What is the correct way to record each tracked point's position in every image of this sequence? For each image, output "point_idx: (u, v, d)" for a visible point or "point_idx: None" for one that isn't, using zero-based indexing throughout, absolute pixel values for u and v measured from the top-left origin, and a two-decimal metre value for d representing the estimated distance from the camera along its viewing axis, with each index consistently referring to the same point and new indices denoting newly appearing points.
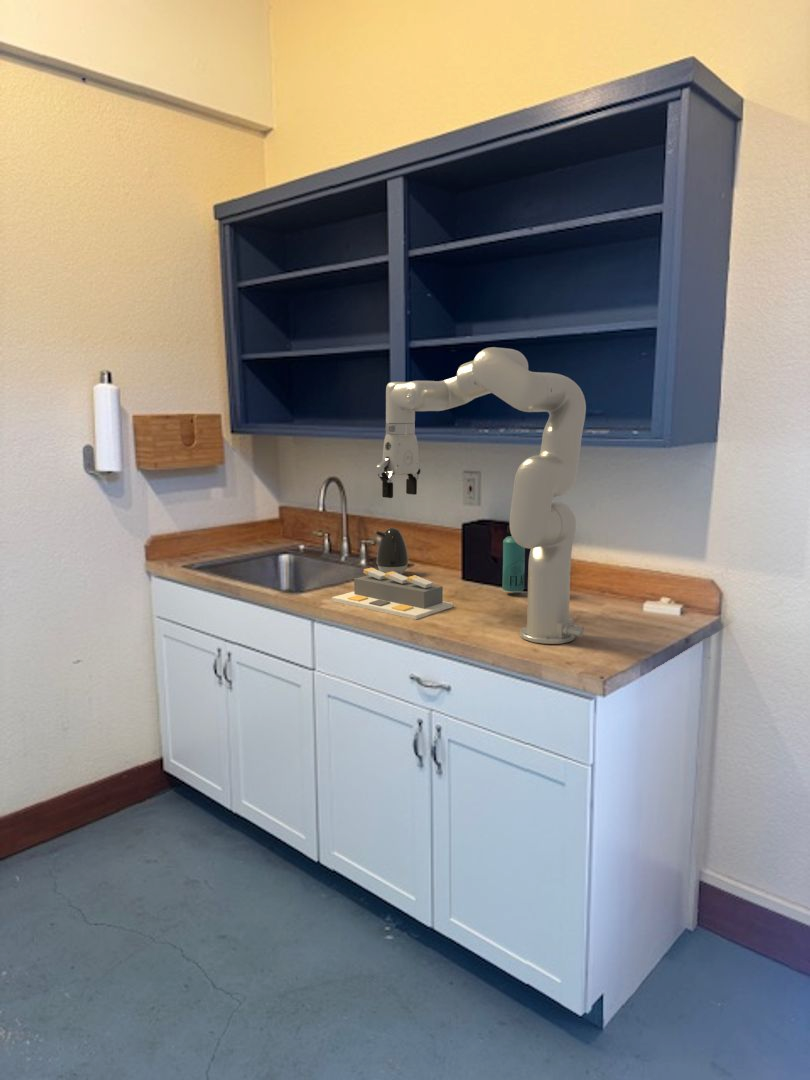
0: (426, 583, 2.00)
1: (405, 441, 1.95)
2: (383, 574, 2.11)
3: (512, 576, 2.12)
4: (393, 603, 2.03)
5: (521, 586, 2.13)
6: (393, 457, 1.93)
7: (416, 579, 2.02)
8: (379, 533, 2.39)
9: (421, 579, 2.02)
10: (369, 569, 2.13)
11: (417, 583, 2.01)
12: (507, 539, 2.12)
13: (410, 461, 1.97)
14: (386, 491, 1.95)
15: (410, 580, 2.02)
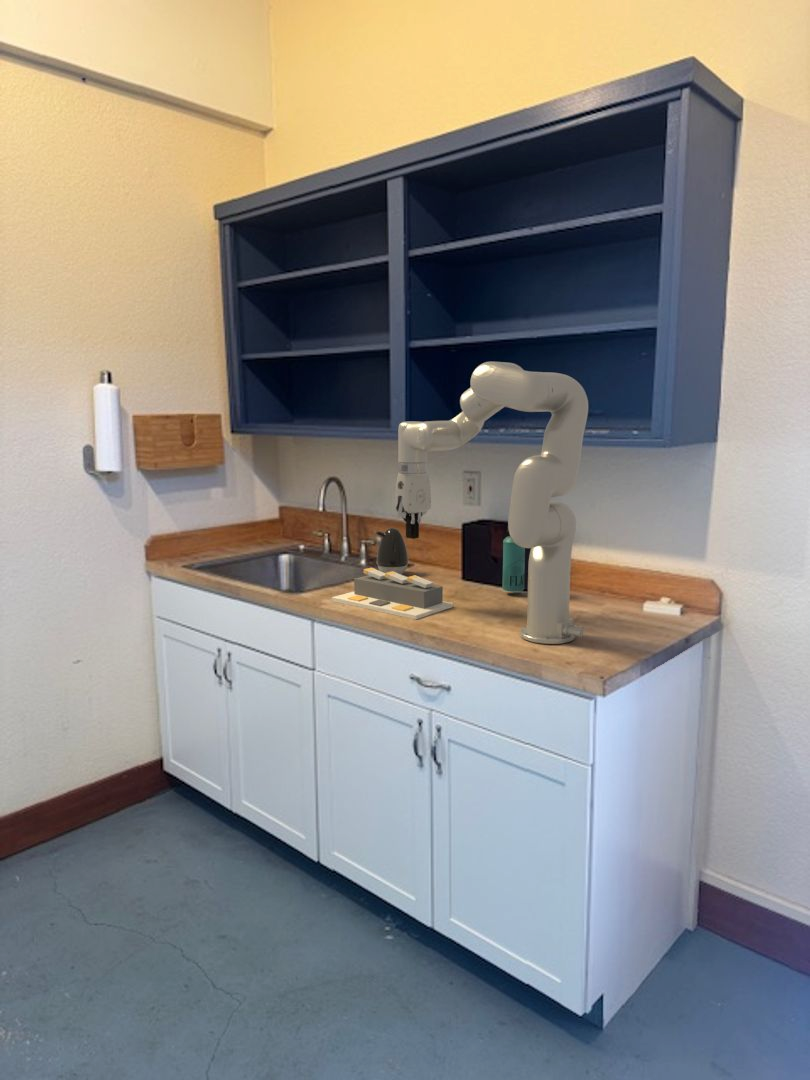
0: (426, 583, 2.00)
1: (418, 480, 1.96)
2: (383, 574, 2.11)
3: (512, 576, 2.12)
4: (393, 603, 2.03)
5: (521, 586, 2.13)
6: (406, 496, 1.95)
7: (416, 579, 2.02)
8: (379, 533, 2.39)
9: (421, 579, 2.02)
10: (369, 569, 2.13)
11: (417, 583, 2.01)
12: (507, 539, 2.12)
13: (422, 499, 1.99)
14: (410, 532, 2.00)
15: (410, 580, 2.02)
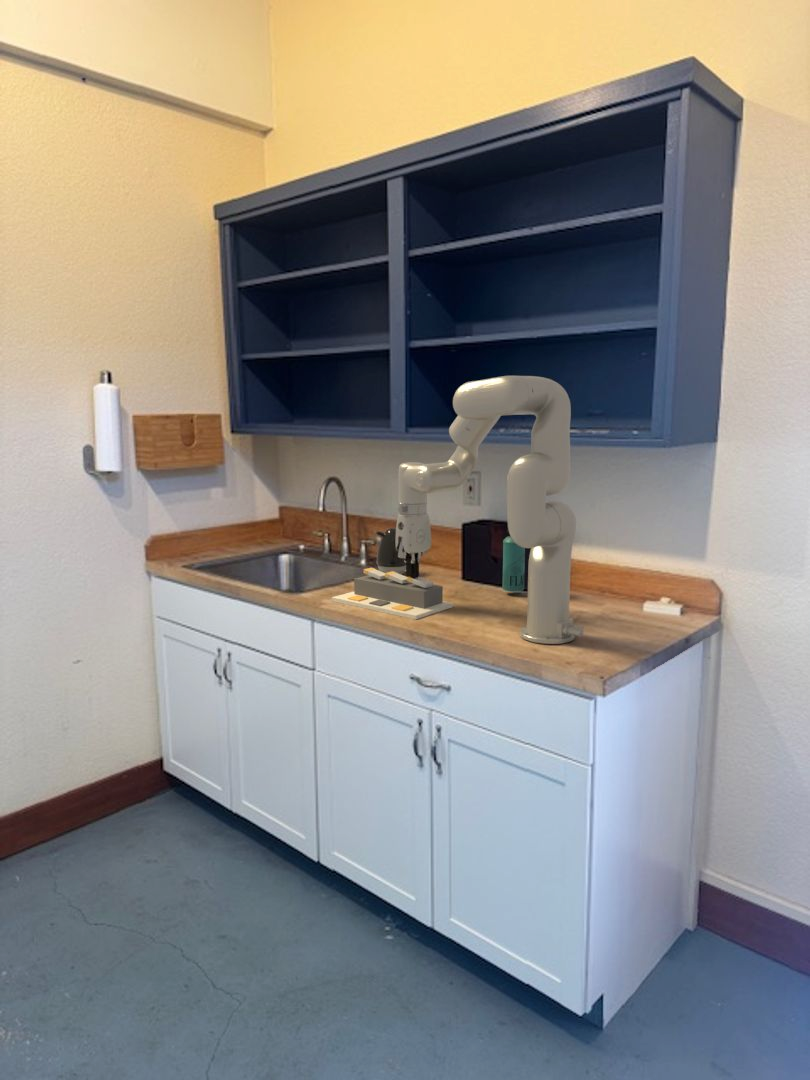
0: (426, 583, 2.00)
1: (418, 521, 1.98)
2: (383, 574, 2.11)
3: (512, 576, 2.12)
4: (393, 603, 2.03)
5: (521, 586, 2.13)
6: (406, 537, 1.97)
7: (416, 579, 2.02)
8: (379, 533, 2.39)
9: (421, 579, 2.02)
10: (369, 569, 2.13)
11: (417, 583, 2.01)
12: (507, 539, 2.12)
13: (422, 539, 2.01)
14: (410, 572, 2.02)
15: (410, 580, 2.02)
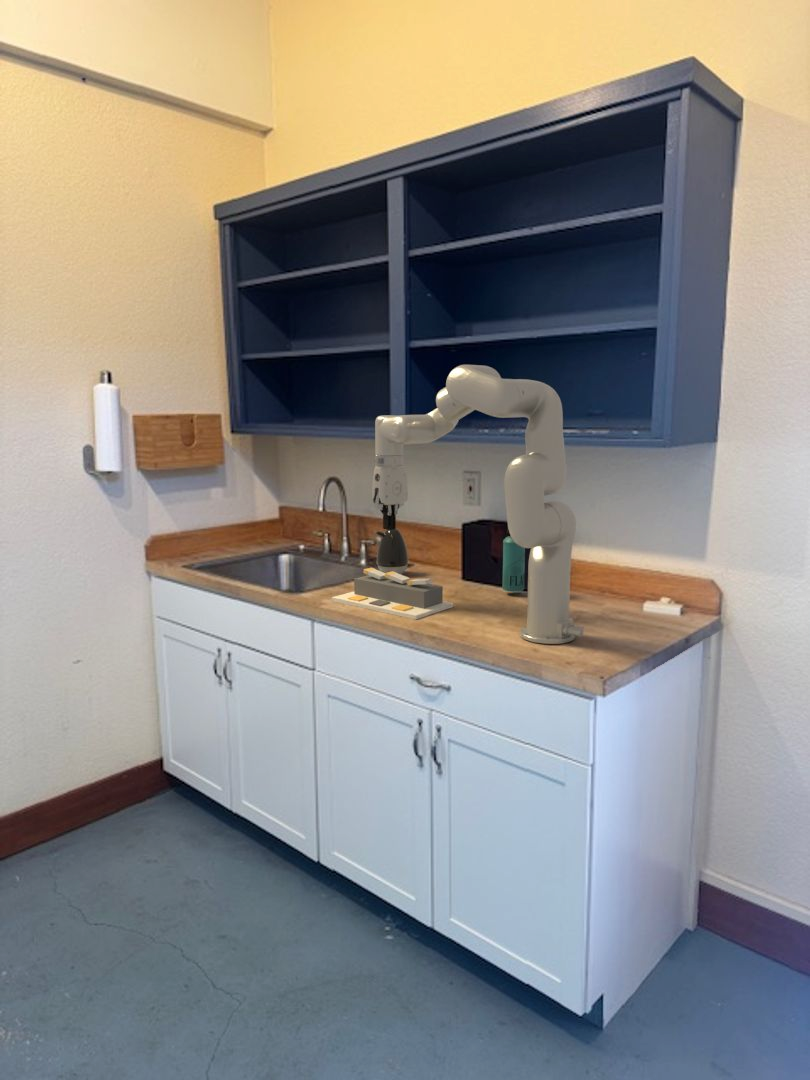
0: (425, 579, 2.00)
1: (394, 473, 2.01)
2: (383, 574, 2.11)
3: (512, 576, 2.12)
4: (393, 603, 2.03)
5: (521, 586, 2.13)
6: (382, 488, 2.00)
7: (415, 580, 2.02)
8: (379, 533, 2.39)
9: (420, 579, 2.02)
10: (369, 569, 2.13)
11: (417, 582, 2.01)
12: (507, 539, 2.12)
13: (399, 491, 2.04)
14: (386, 523, 2.05)
15: (410, 583, 2.02)
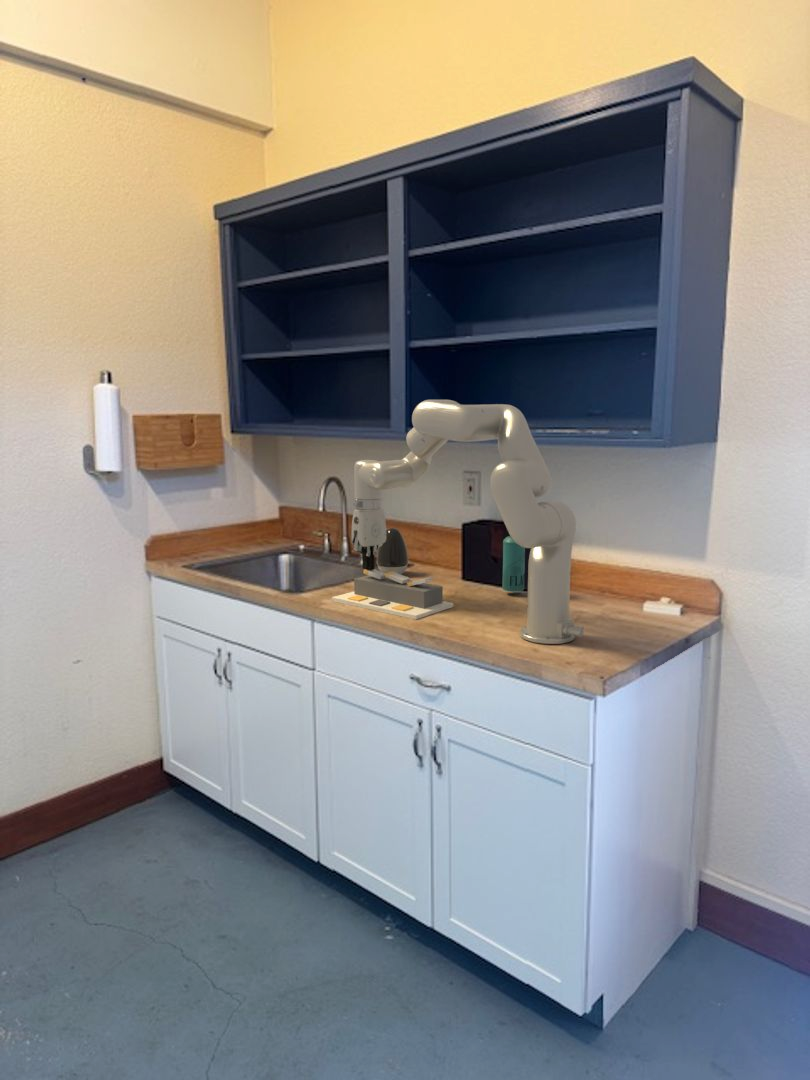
0: (425, 578, 2.00)
1: (373, 516, 2.08)
2: (383, 574, 2.11)
3: (512, 576, 2.12)
4: (393, 603, 2.03)
5: (521, 586, 2.13)
6: (361, 531, 2.07)
7: (415, 580, 2.02)
8: None
9: (420, 579, 2.02)
10: None
11: (417, 582, 2.01)
12: (507, 539, 2.12)
13: (377, 533, 2.11)
14: (366, 564, 2.12)
15: (410, 584, 2.02)
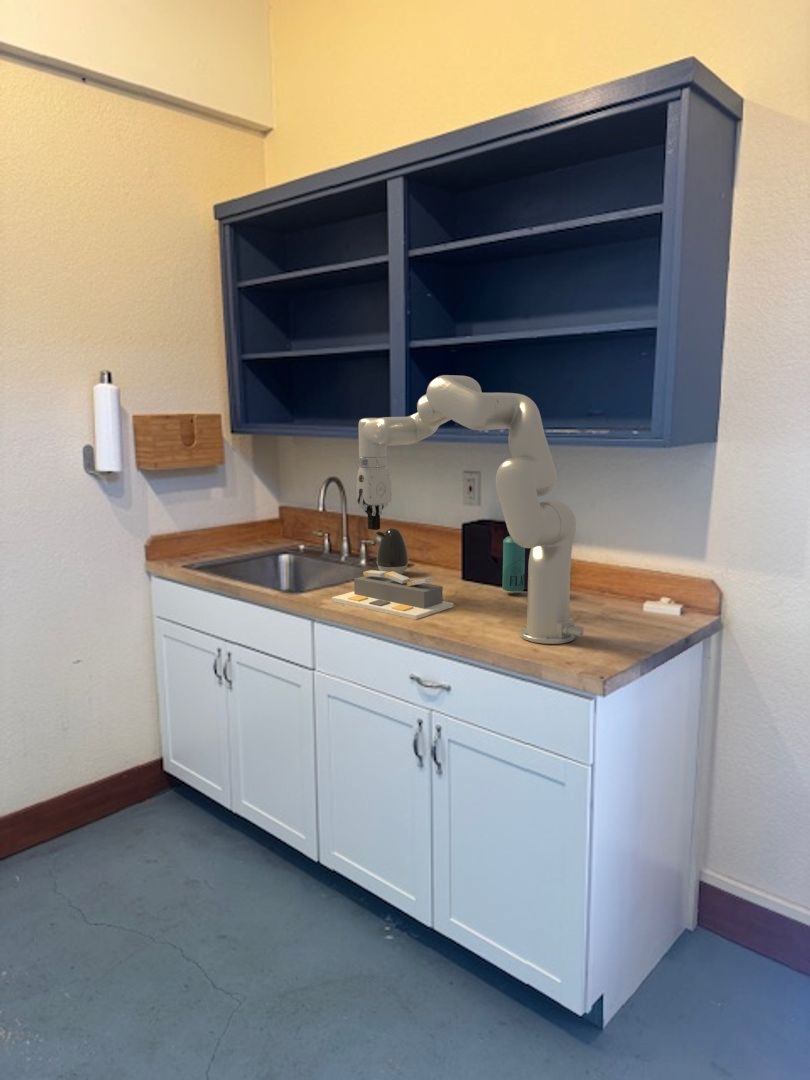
0: (425, 578, 2.00)
1: (378, 474, 2.06)
2: (383, 572, 2.11)
3: (512, 576, 2.12)
4: (393, 603, 2.03)
5: (521, 586, 2.13)
6: (366, 489, 2.04)
7: (415, 580, 2.02)
8: (379, 533, 2.39)
9: (420, 579, 2.02)
10: (369, 571, 2.13)
11: (417, 582, 2.01)
12: (507, 539, 2.12)
13: (383, 492, 2.08)
14: (371, 524, 2.10)
15: (410, 583, 2.02)
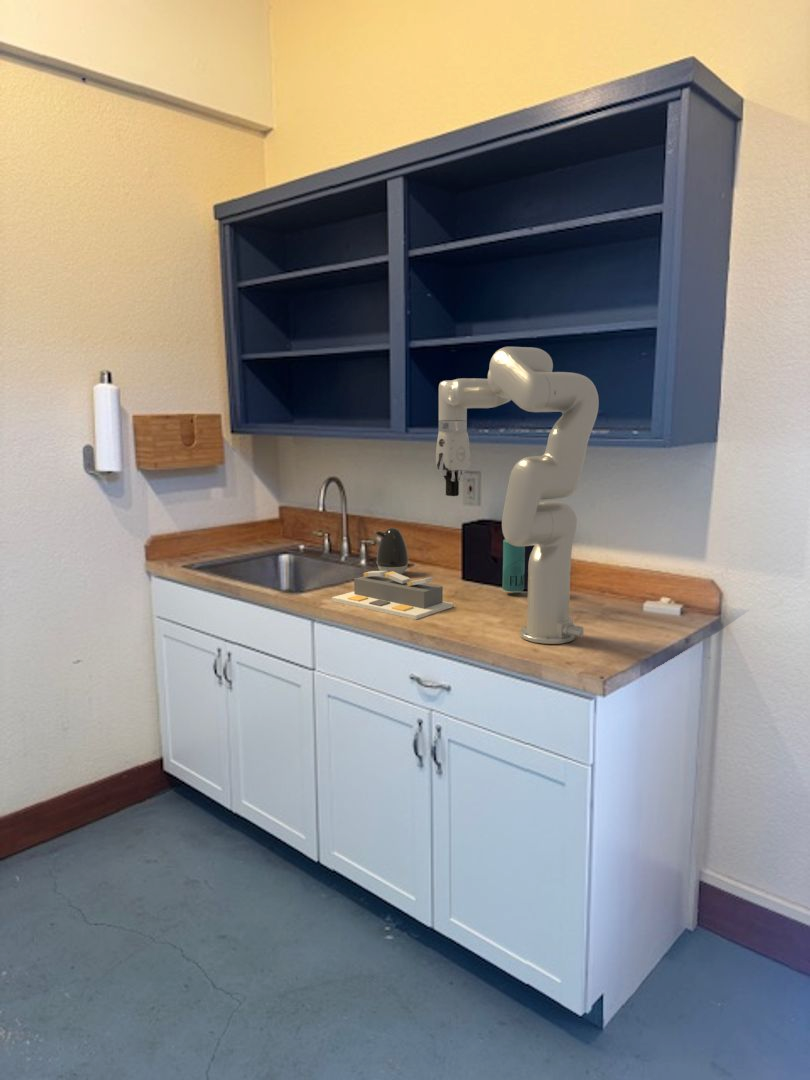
0: (425, 578, 2.00)
1: (458, 438, 2.00)
2: (383, 571, 2.11)
3: (512, 576, 2.12)
4: (393, 603, 2.03)
5: (521, 586, 2.13)
6: (447, 453, 1.99)
7: (415, 580, 2.02)
8: (379, 533, 2.39)
9: (420, 579, 2.02)
10: (369, 572, 2.13)
11: (417, 582, 2.01)
12: None
13: (462, 457, 2.03)
14: (450, 490, 2.04)
15: (410, 583, 2.02)
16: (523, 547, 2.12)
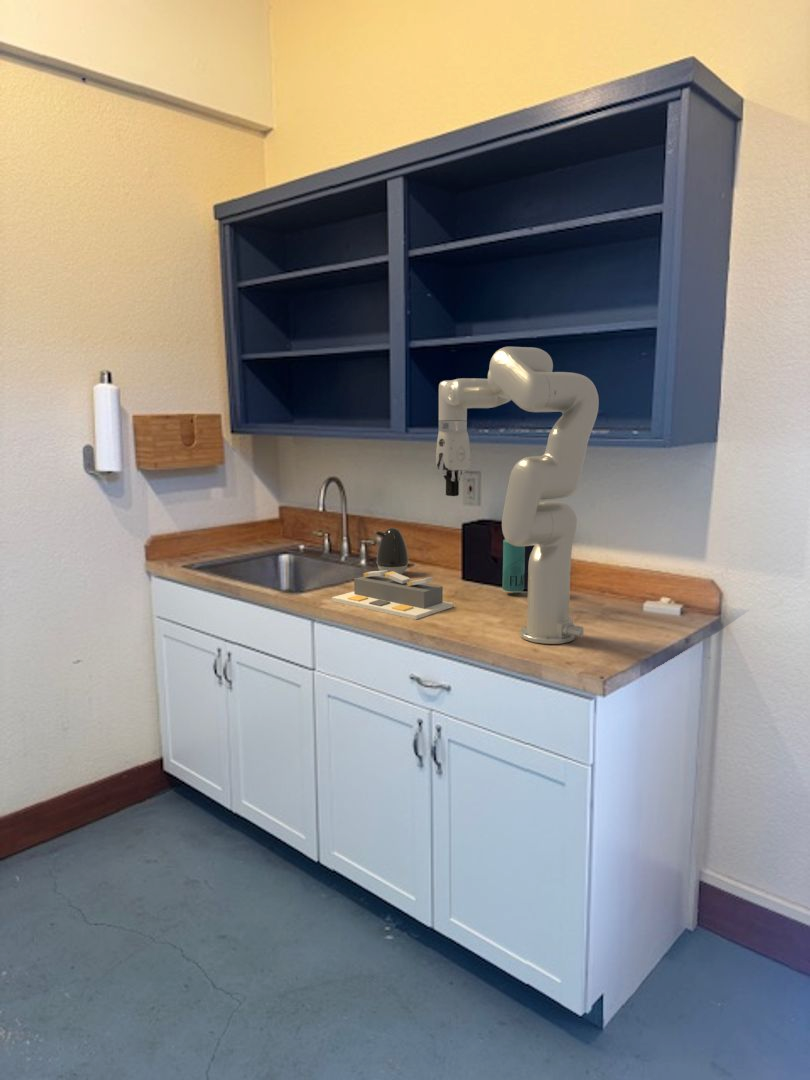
0: (425, 578, 2.00)
1: (458, 438, 2.00)
2: (382, 571, 2.11)
3: (512, 576, 2.12)
4: (393, 603, 2.03)
5: (521, 586, 2.13)
6: (447, 453, 1.99)
7: (415, 580, 2.02)
8: (379, 533, 2.39)
9: (420, 579, 2.02)
10: (369, 572, 2.13)
11: (417, 582, 2.01)
12: None
13: (462, 457, 2.03)
14: (450, 490, 2.04)
15: (410, 583, 2.02)
16: (523, 547, 2.12)
